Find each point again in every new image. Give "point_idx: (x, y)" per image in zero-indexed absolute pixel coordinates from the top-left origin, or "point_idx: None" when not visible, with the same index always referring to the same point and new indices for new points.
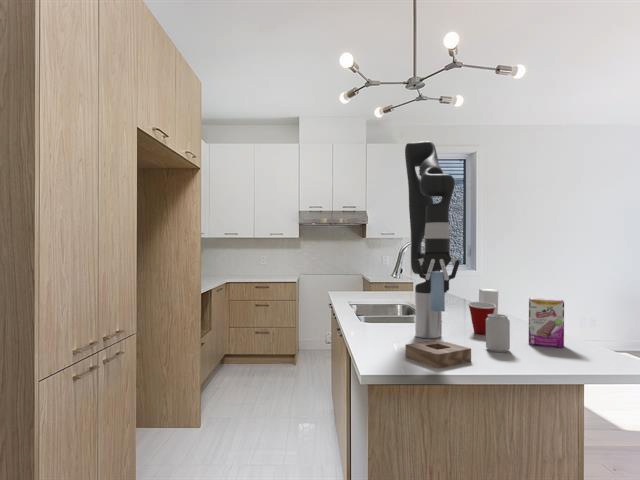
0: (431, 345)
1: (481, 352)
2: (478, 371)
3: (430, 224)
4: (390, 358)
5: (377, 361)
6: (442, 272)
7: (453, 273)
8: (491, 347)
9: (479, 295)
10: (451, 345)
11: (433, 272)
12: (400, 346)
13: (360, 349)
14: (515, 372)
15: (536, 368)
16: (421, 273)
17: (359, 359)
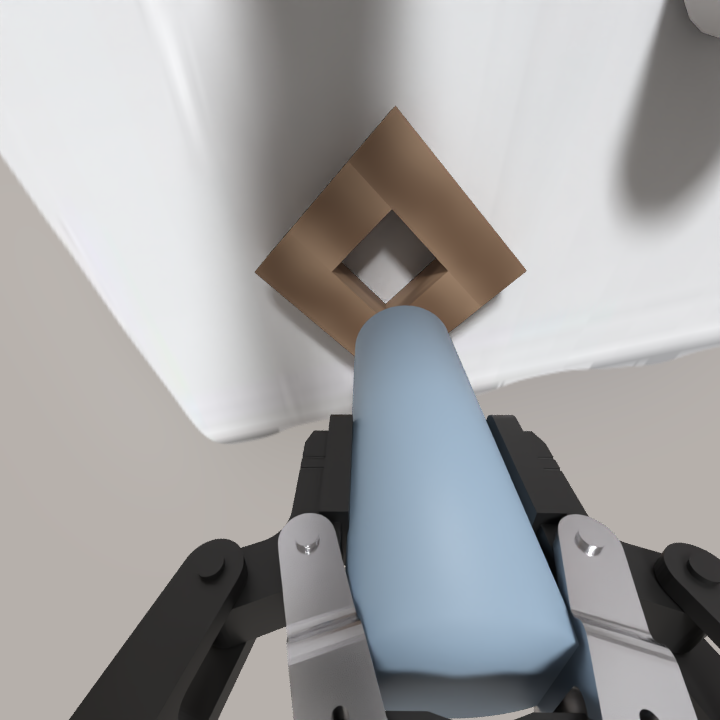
0: (363, 237)
1: (615, 57)
2: (498, 359)
3: None
4: (219, 287)
5: (192, 333)
6: (526, 707)
7: (687, 685)
8: (698, 17)
9: None
10: (452, 236)
11: (394, 709)
12: (193, 32)
13: (46, 173)
14: (608, 344)
15: (710, 285)
16: (221, 669)
17: (128, 325)
